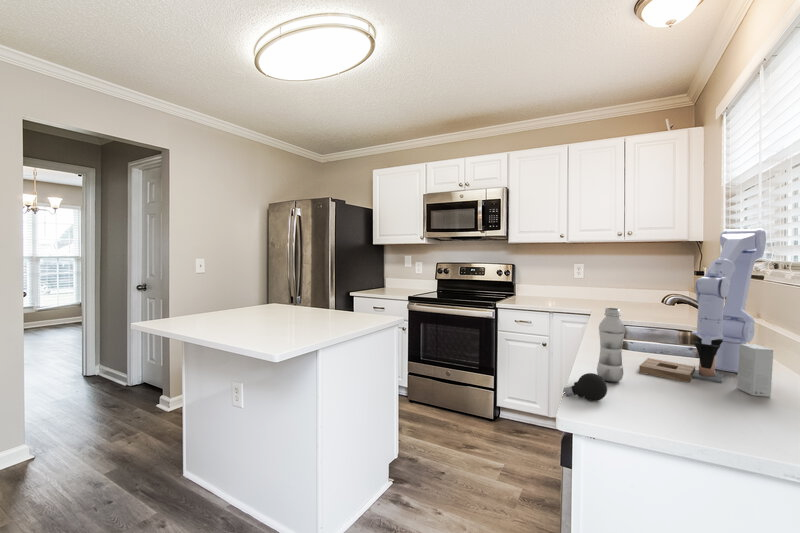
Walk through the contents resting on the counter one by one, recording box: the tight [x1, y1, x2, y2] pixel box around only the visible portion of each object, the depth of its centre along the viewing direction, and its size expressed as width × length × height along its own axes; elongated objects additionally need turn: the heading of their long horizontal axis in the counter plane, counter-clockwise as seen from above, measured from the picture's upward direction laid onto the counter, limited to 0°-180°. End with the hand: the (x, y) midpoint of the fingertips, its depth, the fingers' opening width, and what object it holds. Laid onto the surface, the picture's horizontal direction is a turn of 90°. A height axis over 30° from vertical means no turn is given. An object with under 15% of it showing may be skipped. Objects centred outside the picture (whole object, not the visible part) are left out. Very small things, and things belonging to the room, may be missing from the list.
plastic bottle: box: [596, 307, 626, 383], centre depth 106 cm, size 6×7×20 cm
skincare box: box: [736, 343, 774, 398], centre depth 99 cm, size 6×4×12 cm
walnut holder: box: [638, 357, 696, 383], centre depth 115 cm, size 12×12×2 cm
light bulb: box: [562, 372, 608, 402], centre depth 93 cm, size 6×6×10 cm
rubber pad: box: [692, 368, 725, 384], centre depth 111 cm, size 8×7×1 cm
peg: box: [698, 355, 716, 377], centre depth 111 cm, size 4×4×6 cm
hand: (707, 365), depth 111 cm, fingers open, 7 cm apart
